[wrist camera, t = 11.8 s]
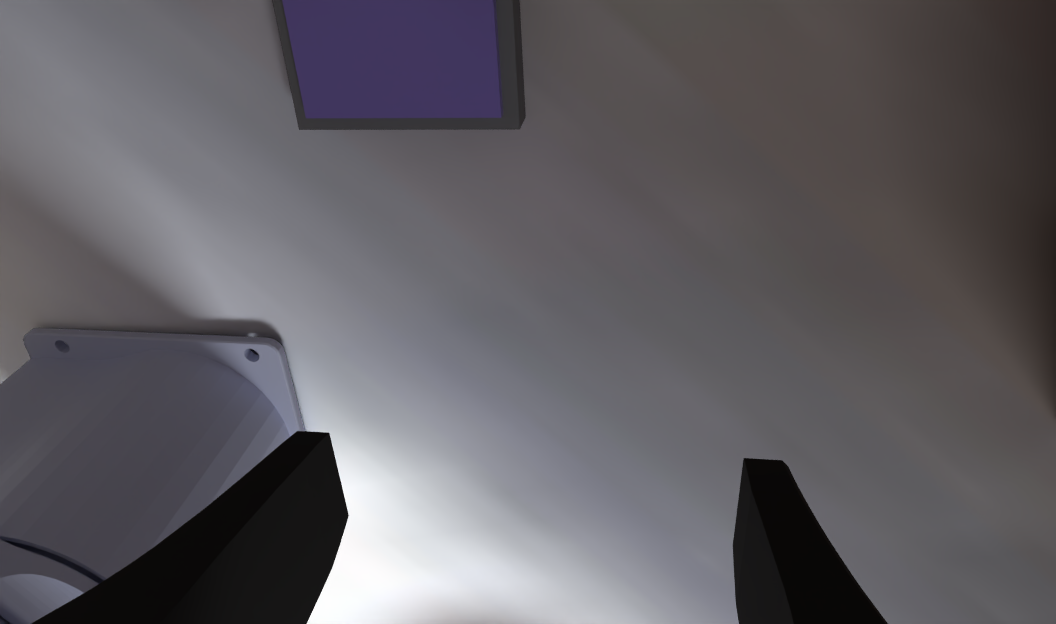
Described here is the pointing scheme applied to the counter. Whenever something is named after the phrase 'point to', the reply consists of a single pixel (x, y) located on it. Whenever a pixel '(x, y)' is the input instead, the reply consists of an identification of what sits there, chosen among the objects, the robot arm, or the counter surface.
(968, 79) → the counter surface
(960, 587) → the counter surface
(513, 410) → the counter surface
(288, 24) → the ink pad
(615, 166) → the counter surface
